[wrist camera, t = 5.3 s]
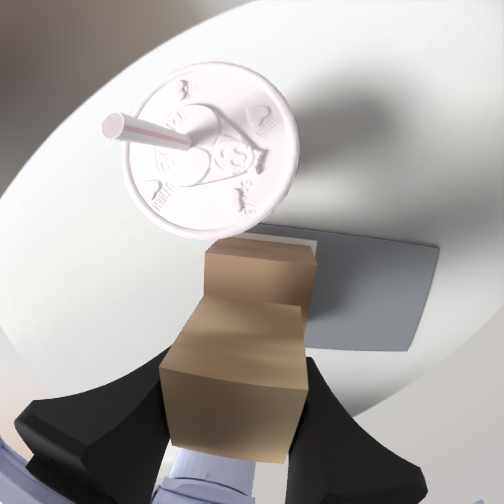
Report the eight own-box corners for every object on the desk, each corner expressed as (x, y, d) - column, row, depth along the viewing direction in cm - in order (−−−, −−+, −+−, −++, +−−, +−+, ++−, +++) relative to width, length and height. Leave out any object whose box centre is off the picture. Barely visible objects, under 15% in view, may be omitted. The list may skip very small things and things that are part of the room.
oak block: (300, 306, 11) (308, 389, 7) (286, 378, 12) (283, 463, 8) (204, 294, 12) (159, 366, 7) (204, 367, 13) (172, 445, 8)
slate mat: (405, 348, 20) (407, 351, 20) (212, 333, 22) (211, 336, 21) (436, 247, 18) (439, 249, 17) (217, 219, 19) (215, 221, 19)
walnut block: (297, 325, 20) (299, 357, 16) (216, 315, 21) (203, 344, 17) (310, 246, 18) (317, 265, 15) (220, 236, 19) (205, 252, 15)
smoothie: (210, 105, 17) (77, 4, 4) (303, 128, 17) (354, 17, 3) (186, 194, 19) (21, 244, 5) (276, 219, 19) (257, 337, 5)
